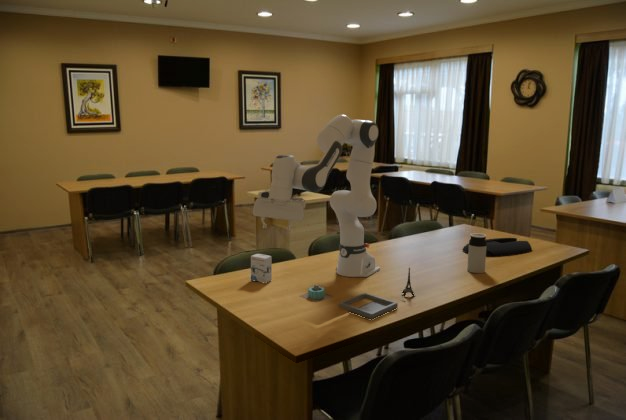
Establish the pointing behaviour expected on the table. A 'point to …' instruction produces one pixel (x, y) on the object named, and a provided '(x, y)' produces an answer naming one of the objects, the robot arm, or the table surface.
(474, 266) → the travel mug
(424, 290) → the table surface
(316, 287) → the post stand
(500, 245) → the black folded towel
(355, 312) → the tray
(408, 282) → the eiffel tower figurine
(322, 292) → the ring
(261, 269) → the ink box
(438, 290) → the table surface
